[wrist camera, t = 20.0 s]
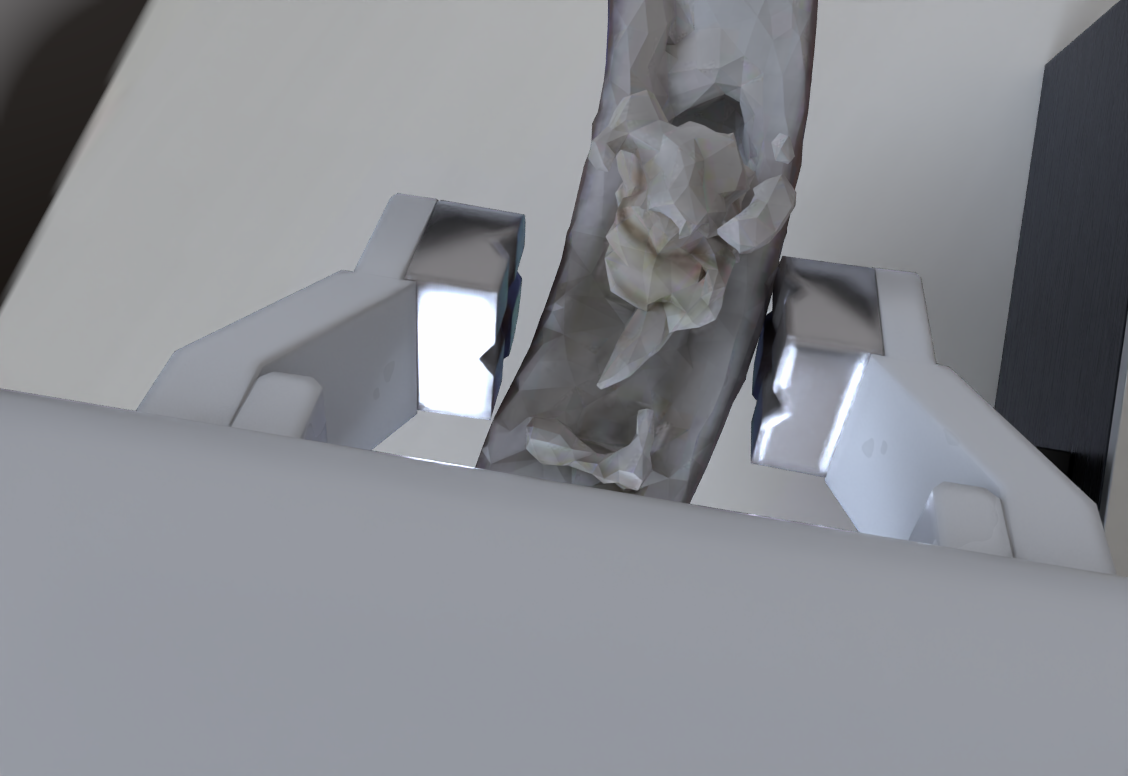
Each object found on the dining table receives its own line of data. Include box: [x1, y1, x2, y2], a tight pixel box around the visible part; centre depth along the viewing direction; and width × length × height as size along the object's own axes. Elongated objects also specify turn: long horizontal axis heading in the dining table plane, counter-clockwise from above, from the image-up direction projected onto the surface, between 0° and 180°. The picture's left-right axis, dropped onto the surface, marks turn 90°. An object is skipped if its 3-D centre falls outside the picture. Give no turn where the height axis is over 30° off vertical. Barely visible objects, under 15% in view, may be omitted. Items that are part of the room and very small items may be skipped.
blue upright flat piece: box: [475, 0, 818, 504], centre depth 15 cm, size 9×3×11 cm, turn 166°
